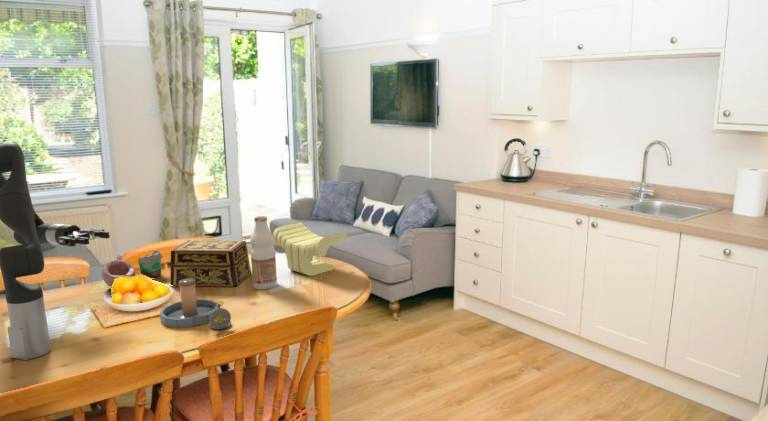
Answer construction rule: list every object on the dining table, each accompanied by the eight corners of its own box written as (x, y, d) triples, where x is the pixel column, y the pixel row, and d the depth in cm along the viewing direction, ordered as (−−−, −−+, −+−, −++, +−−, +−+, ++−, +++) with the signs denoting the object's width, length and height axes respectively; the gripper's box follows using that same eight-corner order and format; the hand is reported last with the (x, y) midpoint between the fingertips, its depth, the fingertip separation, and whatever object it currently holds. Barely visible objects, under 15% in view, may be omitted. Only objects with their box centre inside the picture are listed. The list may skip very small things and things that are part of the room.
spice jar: (191, 317, 194) (188, 284, 192) (178, 315, 196) (175, 282, 194) (201, 312, 199) (198, 279, 197) (189, 310, 201) (186, 277, 199)
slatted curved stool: (274, 267, 252) (272, 228, 248) (302, 259, 263) (301, 222, 260) (318, 281, 232) (317, 239, 228) (347, 272, 243) (346, 232, 239)
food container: (153, 282, 235) (150, 258, 233) (139, 281, 237) (137, 258, 235) (170, 273, 247) (167, 250, 245) (157, 272, 248) (154, 250, 246)
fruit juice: (248, 288, 226) (243, 218, 220) (262, 280, 234) (257, 214, 229) (268, 290, 222) (263, 220, 217) (281, 283, 231) (277, 215, 225)
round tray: (194, 330, 186) (194, 322, 185) (148, 323, 193) (147, 315, 192) (230, 309, 203) (229, 302, 203) (186, 303, 210) (186, 296, 210)
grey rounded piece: (223, 320, 193) (221, 292, 191) (238, 326, 188) (236, 298, 186) (202, 328, 187) (199, 299, 185) (217, 335, 182) (214, 305, 180)
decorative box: (170, 287, 229) (166, 251, 226) (189, 272, 248) (186, 239, 245) (236, 288, 227) (233, 251, 224) (251, 273, 245) (249, 239, 242)
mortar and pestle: (113, 294, 221) (110, 266, 219) (98, 288, 229) (94, 261, 226) (142, 286, 231) (139, 258, 228) (126, 280, 238) (123, 254, 236)
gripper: (43, 229, 193) (79, 232, 187) (79, 220, 206) (113, 223, 200) (46, 250, 194) (82, 254, 188) (82, 240, 207) (116, 243, 201)
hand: (98, 238), depth 194 cm, fingers open, 8 cm apart
